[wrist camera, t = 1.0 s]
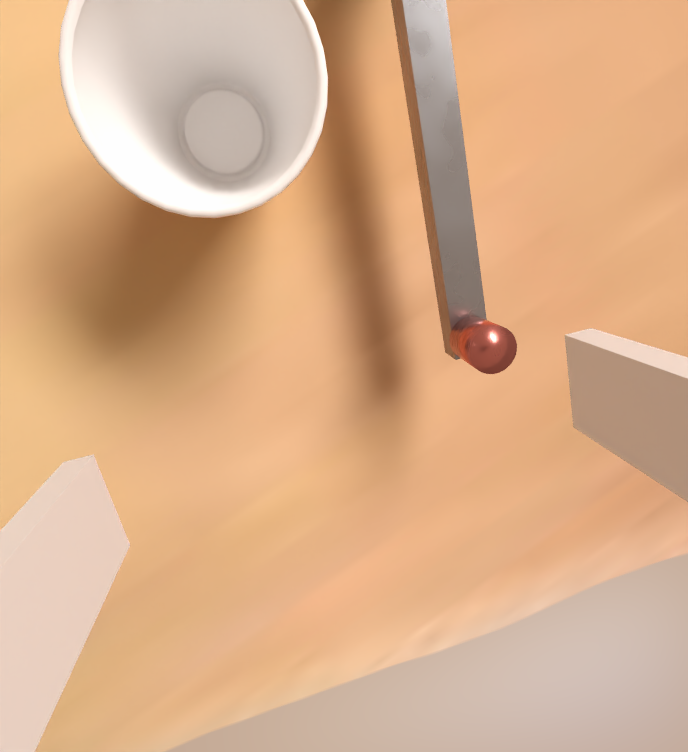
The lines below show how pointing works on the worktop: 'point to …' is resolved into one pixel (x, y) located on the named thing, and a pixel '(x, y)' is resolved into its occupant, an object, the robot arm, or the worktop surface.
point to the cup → (196, 97)
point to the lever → (446, 185)
